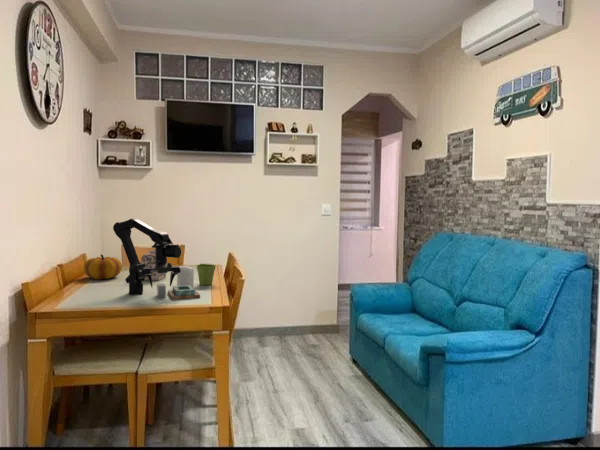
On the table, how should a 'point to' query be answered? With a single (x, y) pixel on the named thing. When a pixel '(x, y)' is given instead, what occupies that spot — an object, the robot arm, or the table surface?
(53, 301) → the table surface
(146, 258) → the decorative jar
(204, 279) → the plant pot
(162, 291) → the silver metal block
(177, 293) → the well board
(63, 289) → the table surface
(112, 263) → the decorative pumpkin
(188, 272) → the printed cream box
